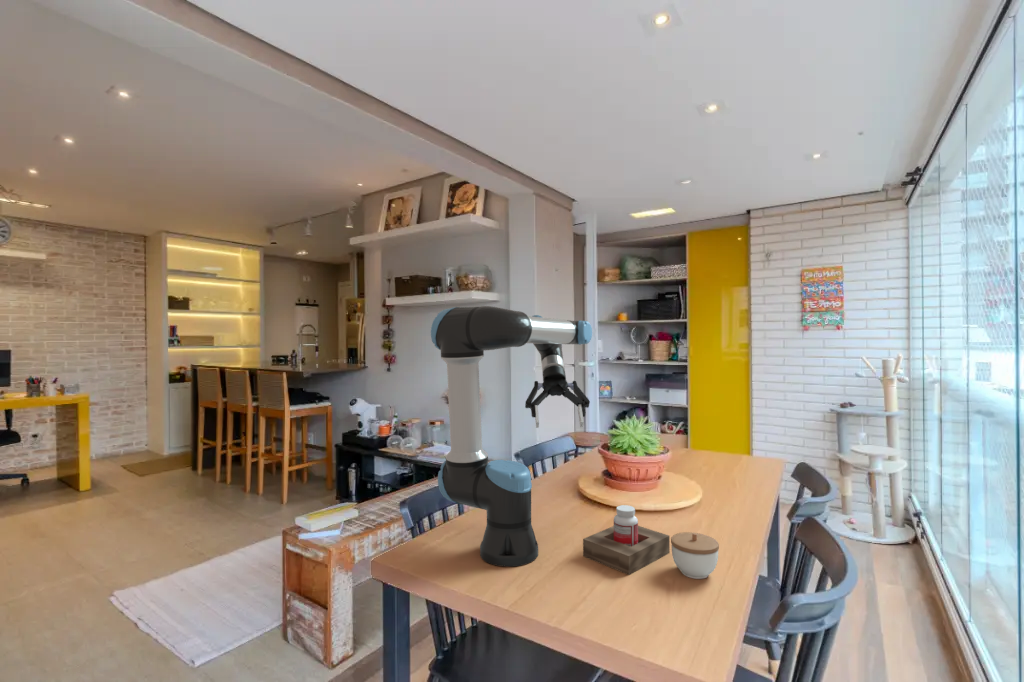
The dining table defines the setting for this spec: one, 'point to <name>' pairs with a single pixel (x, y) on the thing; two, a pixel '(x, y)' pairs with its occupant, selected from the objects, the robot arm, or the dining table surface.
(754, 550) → the dining table surface
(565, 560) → the dining table surface
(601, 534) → the socket block
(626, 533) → the pill bottle
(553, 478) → the dining table surface
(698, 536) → the lidded jar
